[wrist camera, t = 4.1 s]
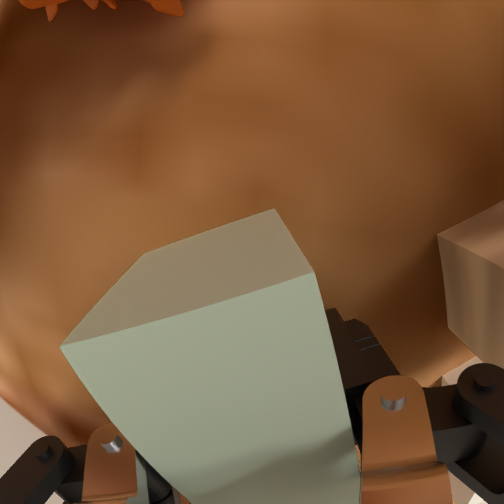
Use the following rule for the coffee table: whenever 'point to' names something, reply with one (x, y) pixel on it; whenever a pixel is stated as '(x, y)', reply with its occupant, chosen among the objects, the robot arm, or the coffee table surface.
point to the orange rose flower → (165, 3)
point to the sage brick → (224, 369)
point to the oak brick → (476, 282)
